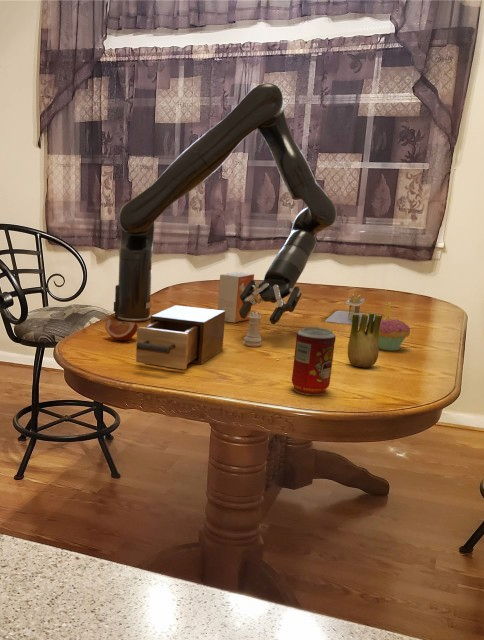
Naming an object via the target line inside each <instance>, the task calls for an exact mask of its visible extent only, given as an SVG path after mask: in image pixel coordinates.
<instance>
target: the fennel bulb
mask: <svg viewBox="0 0 484 640" xmlns="http://www.w3.org/2000/svg"><path fill="white" fill-rule="evenodd" d="M363 313H364V314H362V317H361V322H360V325H358V322H359V314H357V313H355V314H353V318H352V324H351V328H350V333H349V337H348V338H349V339H348V344H347V358H348V362H349V364H351V365H353V366H355V367H358V368H363V369H366V368H367V369H368V368H371V367H373V366H374V365H375V364H376V363H377V361H378V357H379V353H380V349H379V328H380V324H381V320H382V319H383V315H382V314H378V313H374V312H372V311H371V312H370V311H369V313H366V312H363ZM368 314H369V319H368ZM374 314H376V315H375V319H374ZM373 319H374V321H373ZM367 320H368V324H367ZM366 324H367V326H366Z"/></svg>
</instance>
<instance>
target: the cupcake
mask: <svg viewBox="0 0 484 640" xmlns="http://www.w3.org/2000/svg"><path fill="white" fill-rule="evenodd" d="M391 304H392V303H391V301H390V299H388V303H387V308H386V318H385V319H384V318H382V319H381V324H380V328H379V350H383V351H388V352H389V351H392V352H393V351H399V349H400V348H401V345H402V343H403V342H404V340H405V339H406V338H408V337H409V336H410V335H411V327H410V326H409V325H408V324H406V323H405V322H404V321H401V320H400V319H395V318H391V308H392V307H391V306H392V305H391Z"/></svg>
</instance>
